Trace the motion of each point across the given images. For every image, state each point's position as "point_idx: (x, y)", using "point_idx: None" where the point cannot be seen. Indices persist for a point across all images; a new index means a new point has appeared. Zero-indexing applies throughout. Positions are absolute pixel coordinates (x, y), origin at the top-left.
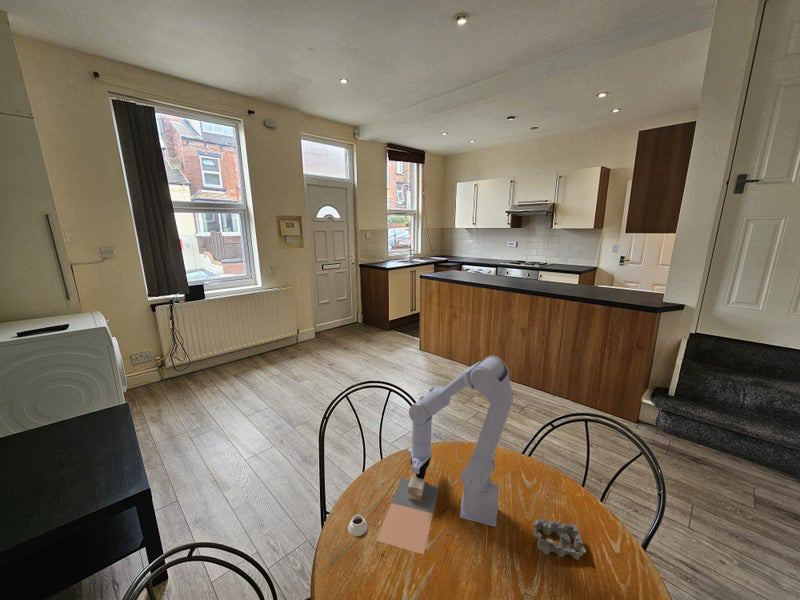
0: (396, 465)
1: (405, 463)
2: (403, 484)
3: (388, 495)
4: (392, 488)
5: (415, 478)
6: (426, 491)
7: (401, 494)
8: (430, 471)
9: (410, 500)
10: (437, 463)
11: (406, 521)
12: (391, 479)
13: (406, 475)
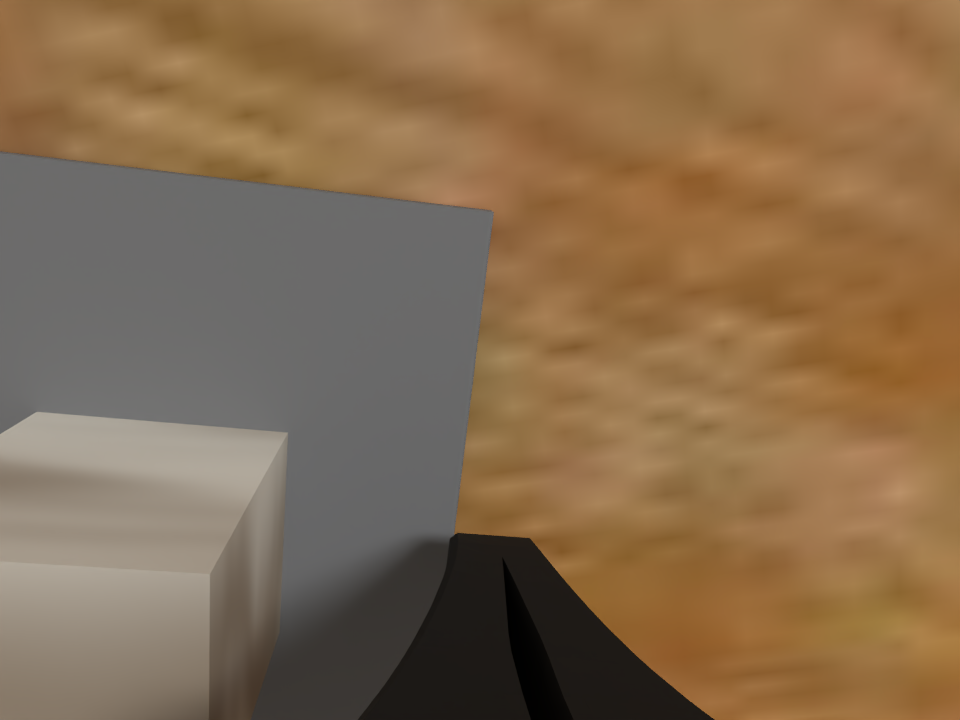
0: (864, 39)
1: (920, 218)
2: (336, 283)
3: (24, 26)
4: (227, 75)
5: (168, 672)
6: (280, 662)
7: (79, 289)
8: (740, 638)
9: None
10: (913, 705)
11: None
12: (459, 4)
13: (609, 288)
